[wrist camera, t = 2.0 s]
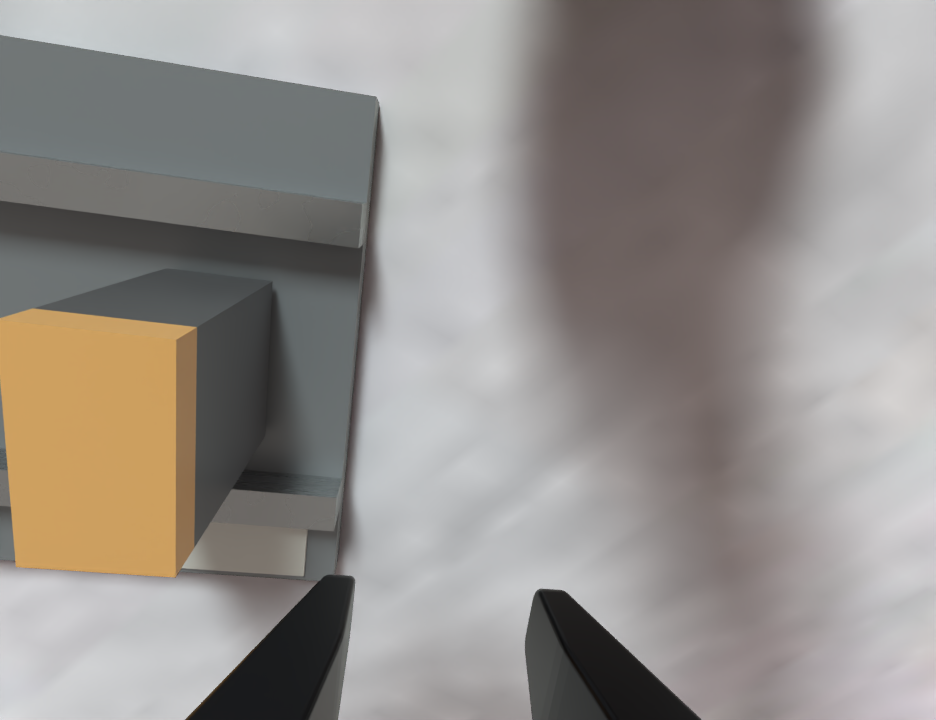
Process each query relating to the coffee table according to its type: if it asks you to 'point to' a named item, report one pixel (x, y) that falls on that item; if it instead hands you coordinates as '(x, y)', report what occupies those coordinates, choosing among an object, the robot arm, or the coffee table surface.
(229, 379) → the handle
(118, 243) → the panel
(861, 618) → the coffee table surface
